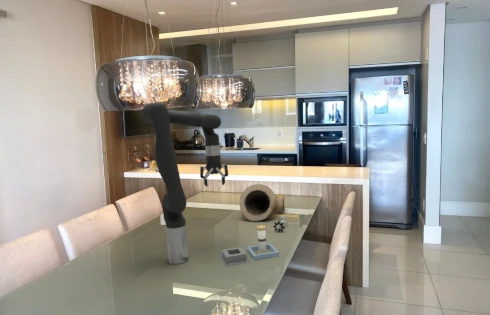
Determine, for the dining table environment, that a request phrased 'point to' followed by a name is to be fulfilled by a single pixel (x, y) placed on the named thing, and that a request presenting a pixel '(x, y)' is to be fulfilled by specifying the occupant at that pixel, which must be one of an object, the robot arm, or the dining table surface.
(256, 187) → the pipe
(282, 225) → the valve
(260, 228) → the capped white cylinder
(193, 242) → the dining table surface
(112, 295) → the dining table surface
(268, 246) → the parts tray
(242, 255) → the block
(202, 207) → the dining table surface
